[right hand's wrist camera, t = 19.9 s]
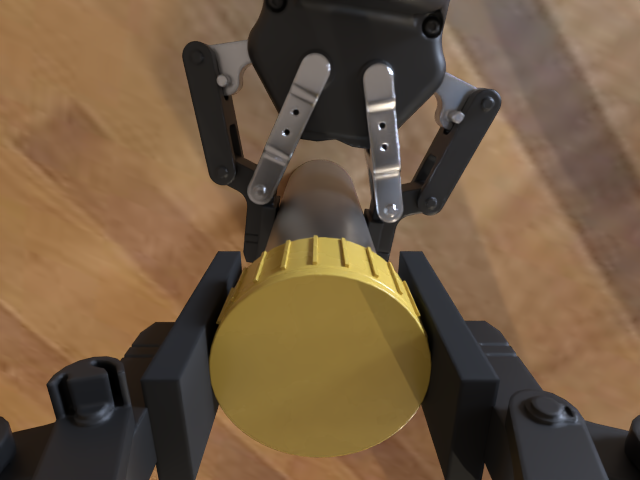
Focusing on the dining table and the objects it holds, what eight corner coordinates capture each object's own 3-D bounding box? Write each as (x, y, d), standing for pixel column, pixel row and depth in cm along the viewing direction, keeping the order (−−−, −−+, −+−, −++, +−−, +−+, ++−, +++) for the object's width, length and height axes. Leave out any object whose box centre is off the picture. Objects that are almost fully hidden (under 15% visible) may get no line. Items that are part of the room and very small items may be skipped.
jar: (357, 221, 27) (410, 411, 12) (291, 230, 28) (253, 428, 12) (350, 154, 26) (398, 267, 10) (280, 164, 26) (218, 290, 10)
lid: (200, 359, 13) (174, 418, 11) (268, 200, 11) (255, 231, 9) (361, 418, 14) (368, 485, 11) (448, 280, 12) (479, 326, 10)
